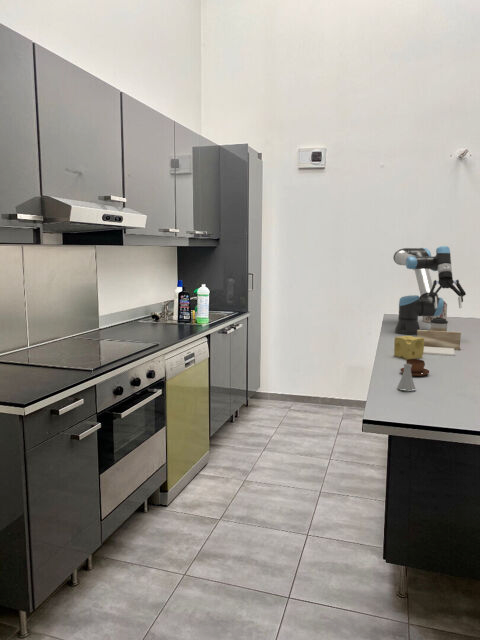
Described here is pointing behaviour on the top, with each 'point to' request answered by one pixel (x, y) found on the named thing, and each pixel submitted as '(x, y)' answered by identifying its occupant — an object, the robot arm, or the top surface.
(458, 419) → the top surface
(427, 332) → the wooden screen
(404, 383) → the flask
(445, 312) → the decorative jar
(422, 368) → the cup and saucer
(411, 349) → the cheese
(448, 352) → the display pad
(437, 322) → the coffee cup
